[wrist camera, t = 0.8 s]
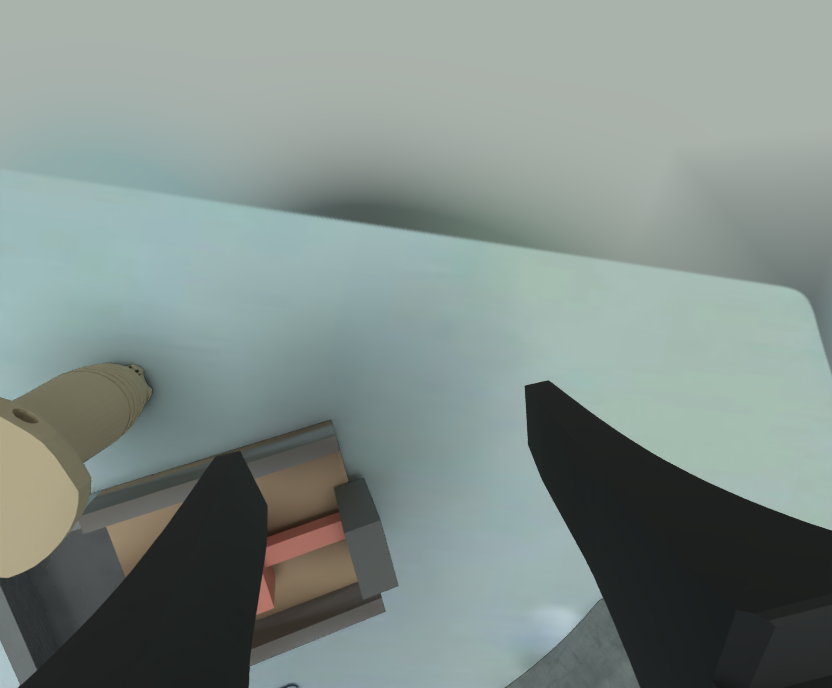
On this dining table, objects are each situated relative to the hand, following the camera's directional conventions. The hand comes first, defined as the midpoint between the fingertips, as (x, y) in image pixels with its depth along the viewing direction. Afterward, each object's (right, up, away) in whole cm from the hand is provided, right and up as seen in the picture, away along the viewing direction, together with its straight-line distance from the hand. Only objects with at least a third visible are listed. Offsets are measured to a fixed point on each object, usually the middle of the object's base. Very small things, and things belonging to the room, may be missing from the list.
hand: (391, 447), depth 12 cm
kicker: (-6, -9, +19) cm, 22 cm away
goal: (-19, -13, +17) cm, 29 cm away
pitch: (-10, -10, +19) cm, 24 cm away
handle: (-17, 0, +17) cm, 24 cm away
